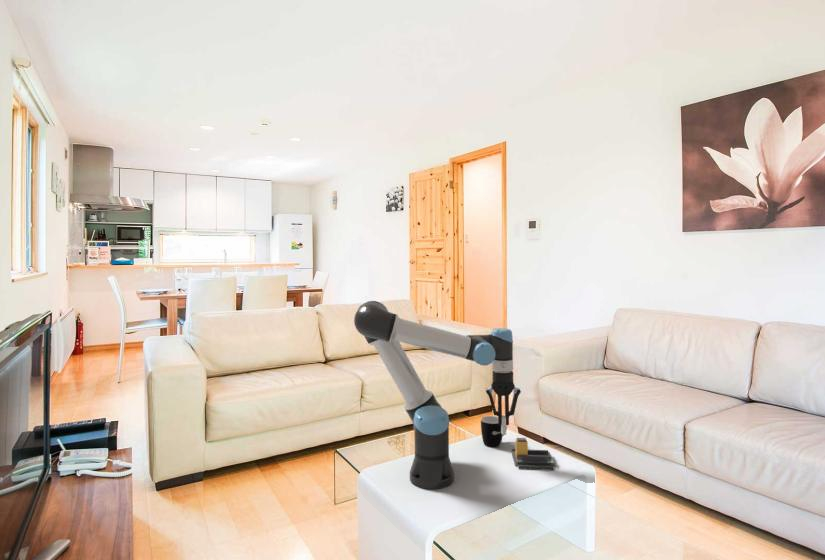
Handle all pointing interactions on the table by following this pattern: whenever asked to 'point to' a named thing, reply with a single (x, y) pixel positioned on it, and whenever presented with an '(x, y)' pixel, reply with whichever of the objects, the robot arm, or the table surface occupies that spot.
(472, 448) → the table surface
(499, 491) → the table surface
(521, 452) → the toggle
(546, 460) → the panel
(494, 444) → the mug
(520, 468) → the dark grey long bar
